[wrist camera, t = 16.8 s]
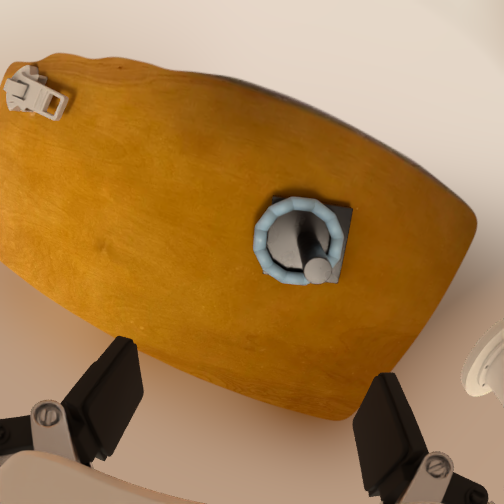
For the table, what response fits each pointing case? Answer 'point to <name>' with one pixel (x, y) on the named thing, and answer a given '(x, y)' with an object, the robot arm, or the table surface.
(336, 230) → the ring
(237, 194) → the table surface
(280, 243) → the post
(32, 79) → the zipper pull
